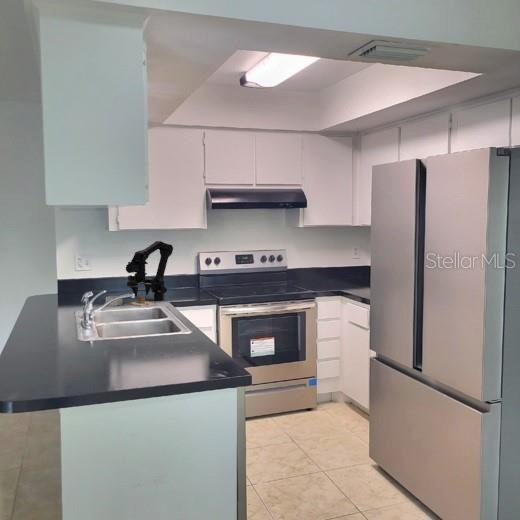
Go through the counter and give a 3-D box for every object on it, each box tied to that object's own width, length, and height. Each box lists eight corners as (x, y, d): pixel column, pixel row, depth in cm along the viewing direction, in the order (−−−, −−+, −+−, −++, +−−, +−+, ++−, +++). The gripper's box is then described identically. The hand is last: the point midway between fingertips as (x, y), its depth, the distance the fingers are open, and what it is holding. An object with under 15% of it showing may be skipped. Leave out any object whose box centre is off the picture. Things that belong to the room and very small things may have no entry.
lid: (141, 301, 338) (141, 294, 338) (156, 303, 331) (155, 296, 330) (126, 304, 327) (126, 296, 327) (140, 306, 320) (140, 298, 320)
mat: (141, 301, 341) (141, 301, 341) (160, 304, 331) (160, 303, 331) (121, 305, 327) (121, 304, 327) (140, 308, 317) (140, 307, 317)
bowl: (115, 303, 336) (114, 295, 335) (125, 304, 330) (125, 296, 330) (102, 305, 327) (102, 297, 327) (113, 306, 322) (113, 299, 321)
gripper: (142, 269, 340) (143, 293, 341) (120, 272, 324) (121, 296, 326) (155, 270, 333) (155, 294, 335) (132, 273, 318) (133, 298, 319)
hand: (141, 295), depth 329 cm, fingers open, 9 cm apart
